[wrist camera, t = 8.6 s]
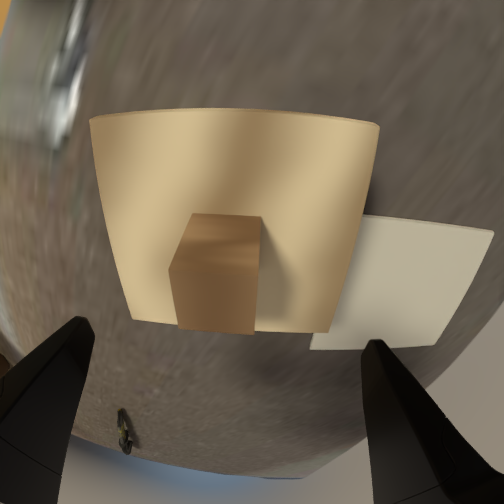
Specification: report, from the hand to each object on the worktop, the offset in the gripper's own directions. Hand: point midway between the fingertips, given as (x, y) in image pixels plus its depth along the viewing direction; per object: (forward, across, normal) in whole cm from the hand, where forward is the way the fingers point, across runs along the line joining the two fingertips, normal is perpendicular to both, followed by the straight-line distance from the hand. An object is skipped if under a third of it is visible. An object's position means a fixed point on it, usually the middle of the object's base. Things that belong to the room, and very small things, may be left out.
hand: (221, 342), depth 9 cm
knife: (+12, +22, +46) cm, 53 cm away
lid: (+7, 0, 0) cm, 7 cm away
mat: (+12, -13, +8) cm, 20 cm away
